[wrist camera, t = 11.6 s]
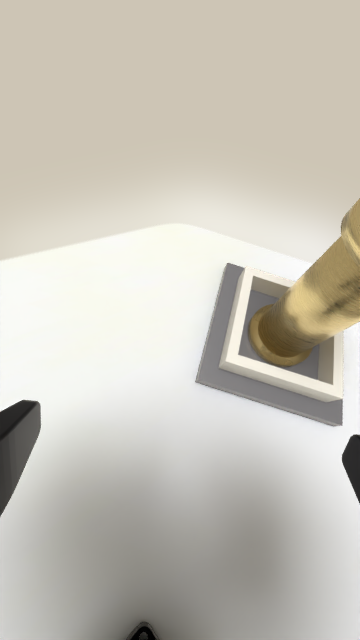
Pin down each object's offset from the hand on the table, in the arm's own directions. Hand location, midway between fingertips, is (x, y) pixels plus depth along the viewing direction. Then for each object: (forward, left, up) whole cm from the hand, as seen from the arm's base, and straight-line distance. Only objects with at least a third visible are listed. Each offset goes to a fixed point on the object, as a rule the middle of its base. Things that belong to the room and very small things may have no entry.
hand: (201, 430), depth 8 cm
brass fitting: (0, -13, -13) cm, 18 cm away
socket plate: (0, -13, -14) cm, 19 cm away
